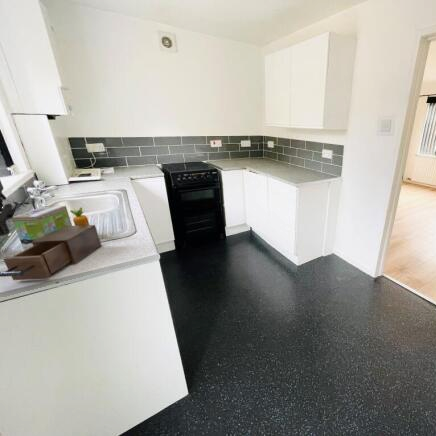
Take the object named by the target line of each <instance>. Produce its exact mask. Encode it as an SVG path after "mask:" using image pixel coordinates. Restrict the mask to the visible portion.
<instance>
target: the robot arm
mask: <svg viewBox="0 0 436 436" xmlns="http://www.w3.org/2000/svg"><path fill="white" fill-rule="evenodd" d="M3 191H4V185H3V183H2V181H1V180H0V237H3V236H6V235H8V234H9V233H10V228H9V226H8V224H7V221H9V220H11V219H12V217H14V216H15V213H16V211H17V209H18V206H19V203H18V202H17V201H13V202H12V201H10V200H8V199H7V196H6V195H4V194H3Z"/></svg>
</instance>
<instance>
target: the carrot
mask: <svg viewBox="0 0 436 436" xmlns="http://www.w3.org/2000/svg"><path fill="white" fill-rule="evenodd" d="M69 212H70V213H71V214H73V215H74V216H73V218H72V221H73V224H74V226H82V225H90V222H89V219H88V217H87V216H86V215H84V214H83V213H84V211H83V207H82V206H80V207H79V209H77V210H76V209H71V210H70V211H69Z"/></svg>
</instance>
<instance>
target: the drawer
mask: <svg viewBox="0 0 436 436" xmlns="http://www.w3.org/2000/svg"><path fill="white" fill-rule="evenodd" d="M2 260H3V262H4V264H5V266H6V268H7V269H6V270H4V271H0V278H1V277H11V279H12V281H25V280H26V281H27V280H46V279H49V278H51V277H52V276H51V274H53V273H55V272H57V271H58V270H59V269H61V268H62V267H64V266H65V265H68V264H67V263H69V262H70V261H72V260H71V257H70V254H69V251H68V249H67V246H66V243H65V242H59V243H38V244H36V245H34V246H32V247H30V248H28V249H26V250H24V249H23V250H22V251H20V252H18V253H16V254H14V255H13V256H6V257H4V258H2Z"/></svg>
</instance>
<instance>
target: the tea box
mask: <svg viewBox="0 0 436 436" xmlns="http://www.w3.org/2000/svg"><path fill="white" fill-rule="evenodd" d="M12 223H13V225H14V229H15V231H16V234H17V237H18V238H19V239H18V240H19V241H20V243H21V246H22V249H23V251H24V250H26V249H28V248H30V247H32V246H33V244H32V241H34V240H36V239H38V238H40V237H43V236H45V235H47V234H49V233H51V232H53V231H55V230H58V229H60V228H62V227H64V226H73V224H72V223H73V222H72V220H71V217H70V214H69V211H68V207H67V206H66V205H56V206H54V205H53V206H40V207H37V208H35V209H32V210H29V211H26V212H23V213H20V214H17V215H13V217H12Z"/></svg>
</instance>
